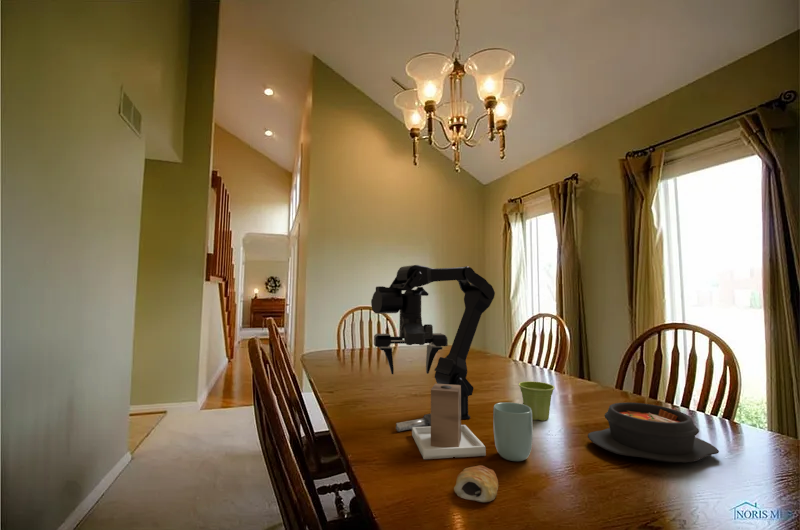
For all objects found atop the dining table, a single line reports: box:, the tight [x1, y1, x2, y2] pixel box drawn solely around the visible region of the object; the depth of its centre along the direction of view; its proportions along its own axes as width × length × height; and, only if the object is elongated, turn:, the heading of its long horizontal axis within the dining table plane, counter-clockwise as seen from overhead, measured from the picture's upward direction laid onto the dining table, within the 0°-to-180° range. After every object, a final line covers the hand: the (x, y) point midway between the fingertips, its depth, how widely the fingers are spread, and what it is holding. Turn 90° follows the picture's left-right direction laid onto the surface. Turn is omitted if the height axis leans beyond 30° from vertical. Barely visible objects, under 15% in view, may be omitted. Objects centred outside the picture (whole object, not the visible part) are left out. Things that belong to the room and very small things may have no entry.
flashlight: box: [395, 413, 431, 433], centre depth 92 cm, size 11×3×3 cm, turn 119°
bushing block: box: [430, 383, 462, 448], centre depth 82 cm, size 6×6×12 cm
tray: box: [411, 424, 487, 460], centre depth 82 cm, size 13×13×2 cm
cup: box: [492, 401, 534, 462], centre depth 76 cm, size 8×8×10 cm
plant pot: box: [518, 380, 555, 422], centre depth 101 cm, size 9×9×9 cm
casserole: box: [587, 402, 720, 463], centre depth 80 cm, size 25×19×8 cm
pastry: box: [453, 465, 499, 503], centre depth 64 cm, size 9×7×4 cm
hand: (410, 373), depth 95 cm, fingers open, 9 cm apart
